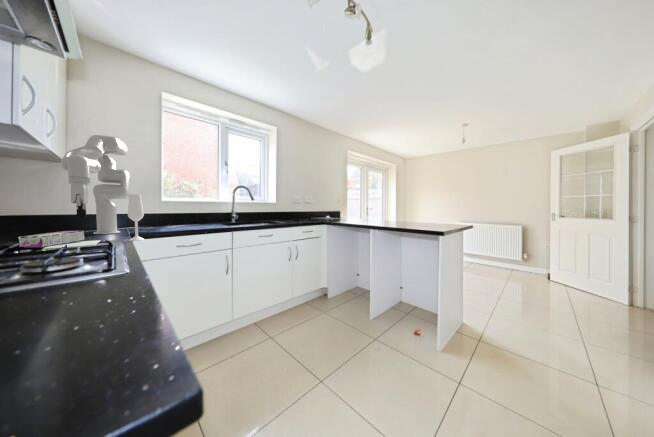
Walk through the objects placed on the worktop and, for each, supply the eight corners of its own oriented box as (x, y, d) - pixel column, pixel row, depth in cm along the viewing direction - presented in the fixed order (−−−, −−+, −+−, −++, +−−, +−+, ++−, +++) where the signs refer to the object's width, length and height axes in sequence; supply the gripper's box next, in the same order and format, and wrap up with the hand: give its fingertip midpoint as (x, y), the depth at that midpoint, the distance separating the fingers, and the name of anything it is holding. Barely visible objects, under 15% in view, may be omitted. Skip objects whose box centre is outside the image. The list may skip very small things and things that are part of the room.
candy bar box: (65, 240, 115) (18, 247, 99) (64, 230, 115) (17, 236, 99) (85, 240, 114) (41, 247, 98) (84, 230, 114) (39, 235, 97)
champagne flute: (126, 240, 120) (124, 194, 118) (131, 239, 126) (129, 194, 125) (142, 240, 122) (140, 194, 121) (146, 238, 128) (145, 195, 127)
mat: (56, 243, 109) (56, 242, 109) (100, 240, 119) (100, 240, 119) (42, 249, 95) (42, 248, 95) (94, 245, 104) (94, 244, 104)
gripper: (72, 181, 121) (74, 216, 123) (64, 179, 110) (67, 218, 111) (92, 182, 126) (94, 216, 127) (87, 180, 114) (89, 218, 116)
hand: (81, 217), depth 119 cm, fingers closed
